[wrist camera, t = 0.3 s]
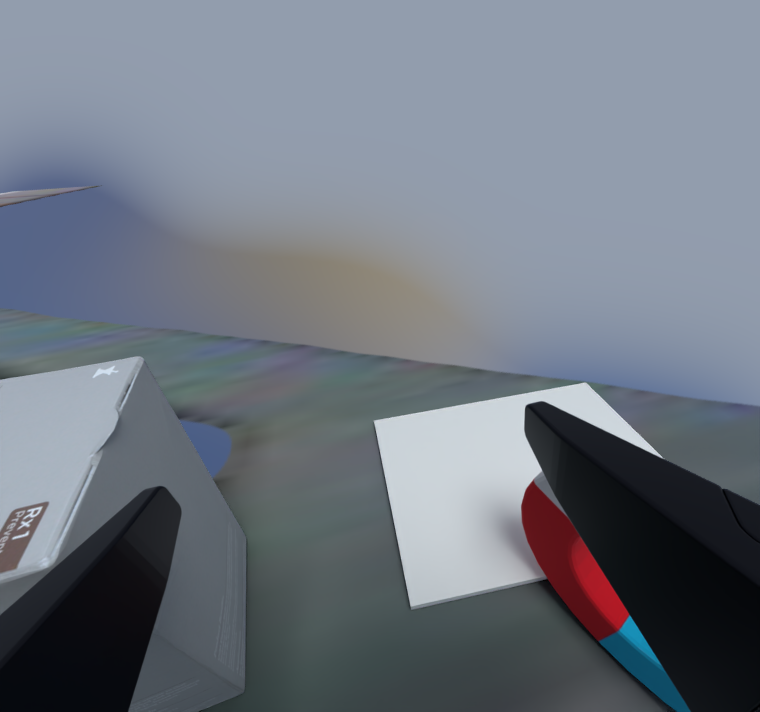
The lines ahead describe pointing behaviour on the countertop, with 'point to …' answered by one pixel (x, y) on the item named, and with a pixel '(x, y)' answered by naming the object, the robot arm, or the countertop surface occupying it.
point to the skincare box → (107, 497)
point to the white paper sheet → (472, 490)
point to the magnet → (589, 589)
